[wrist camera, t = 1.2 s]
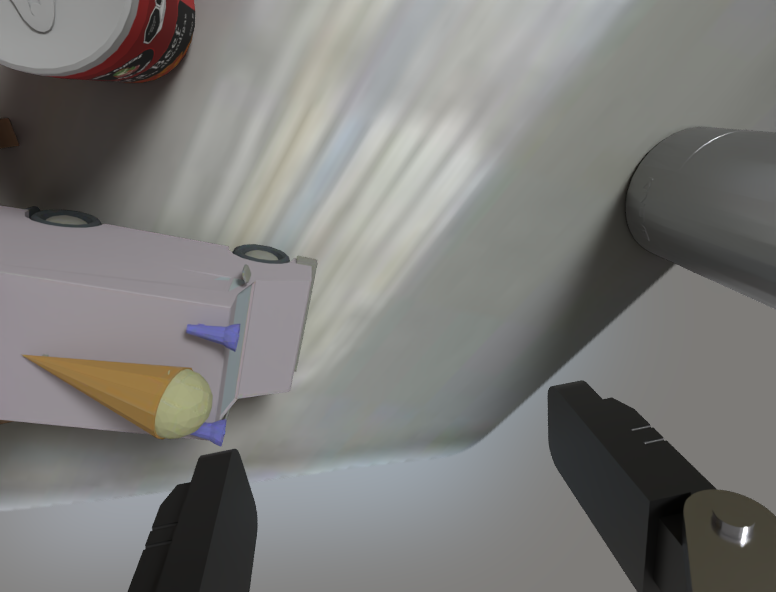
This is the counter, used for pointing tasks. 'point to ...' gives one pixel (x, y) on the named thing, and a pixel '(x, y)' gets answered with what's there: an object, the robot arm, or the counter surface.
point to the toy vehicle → (141, 325)
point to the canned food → (96, 37)
